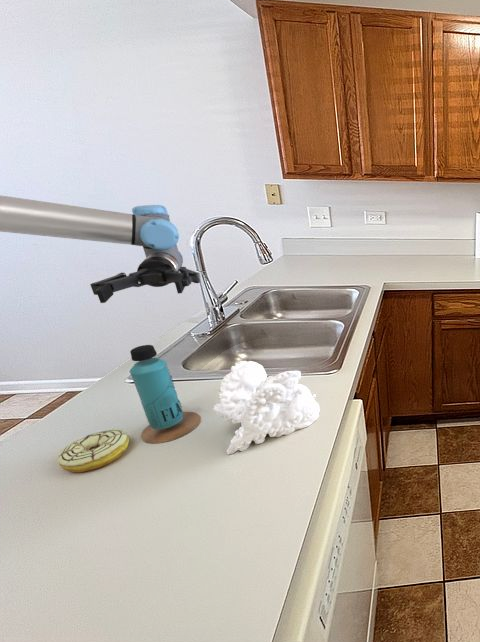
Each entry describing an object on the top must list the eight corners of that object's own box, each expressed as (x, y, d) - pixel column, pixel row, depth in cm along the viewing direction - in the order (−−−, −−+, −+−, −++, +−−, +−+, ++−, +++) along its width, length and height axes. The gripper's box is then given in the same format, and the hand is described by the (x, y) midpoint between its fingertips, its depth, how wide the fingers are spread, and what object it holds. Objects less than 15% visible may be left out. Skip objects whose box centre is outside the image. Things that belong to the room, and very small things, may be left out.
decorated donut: (97, 439, 87) (91, 425, 85) (144, 441, 86) (139, 426, 85) (46, 474, 77) (38, 459, 76) (99, 476, 76) (92, 461, 75)
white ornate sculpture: (345, 376, 94) (269, 367, 77) (321, 462, 91) (237, 473, 74) (294, 361, 103) (216, 350, 86) (271, 439, 100) (186, 443, 83)
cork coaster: (128, 442, 86) (127, 440, 86) (168, 412, 96) (168, 410, 96) (175, 445, 85) (175, 443, 85) (211, 414, 95) (211, 412, 95)
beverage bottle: (166, 437, 87) (138, 356, 79) (143, 432, 88) (113, 352, 81) (193, 419, 92) (169, 342, 85) (171, 415, 94) (145, 339, 87)
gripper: (217, 277, 112) (211, 299, 95) (102, 290, 101) (71, 317, 83) (210, 251, 109) (203, 268, 92) (91, 261, 98) (58, 283, 81)
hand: (140, 292), depth 88 cm, fingers open, 13 cm apart
